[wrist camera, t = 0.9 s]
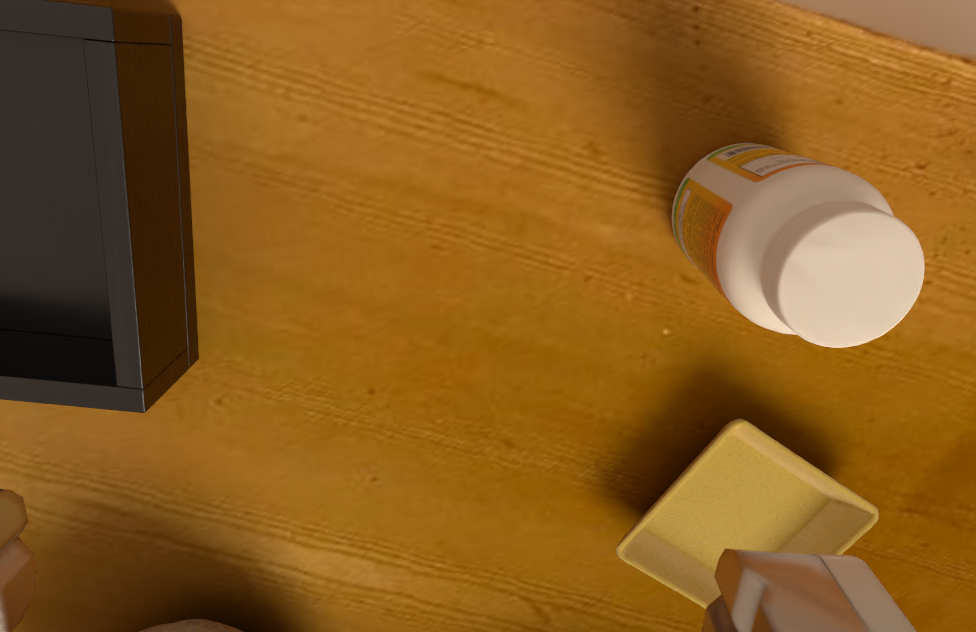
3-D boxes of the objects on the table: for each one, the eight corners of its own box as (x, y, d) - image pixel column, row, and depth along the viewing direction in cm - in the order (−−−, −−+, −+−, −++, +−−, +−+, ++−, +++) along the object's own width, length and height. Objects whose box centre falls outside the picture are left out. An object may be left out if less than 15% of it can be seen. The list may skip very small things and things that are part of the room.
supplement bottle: (729, 298, 29) (833, 407, 20) (641, 213, 28) (710, 287, 19) (831, 205, 28) (995, 277, 19) (744, 111, 27) (872, 138, 17)
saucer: (864, 487, 32) (887, 515, 30) (739, 606, 35) (753, 639, 33) (723, 392, 31) (739, 415, 29) (603, 524, 33) (610, 553, 31)
